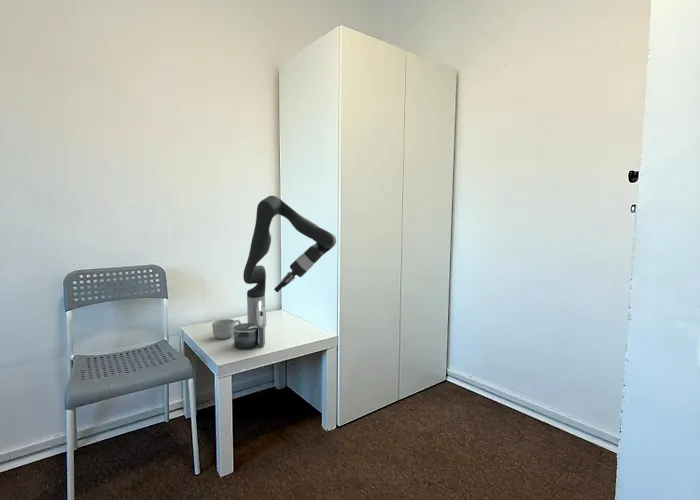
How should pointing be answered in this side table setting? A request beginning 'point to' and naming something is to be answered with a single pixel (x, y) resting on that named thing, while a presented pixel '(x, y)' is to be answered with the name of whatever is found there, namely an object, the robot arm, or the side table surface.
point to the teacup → (224, 328)
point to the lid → (259, 313)
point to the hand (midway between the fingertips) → (275, 290)
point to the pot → (249, 336)
